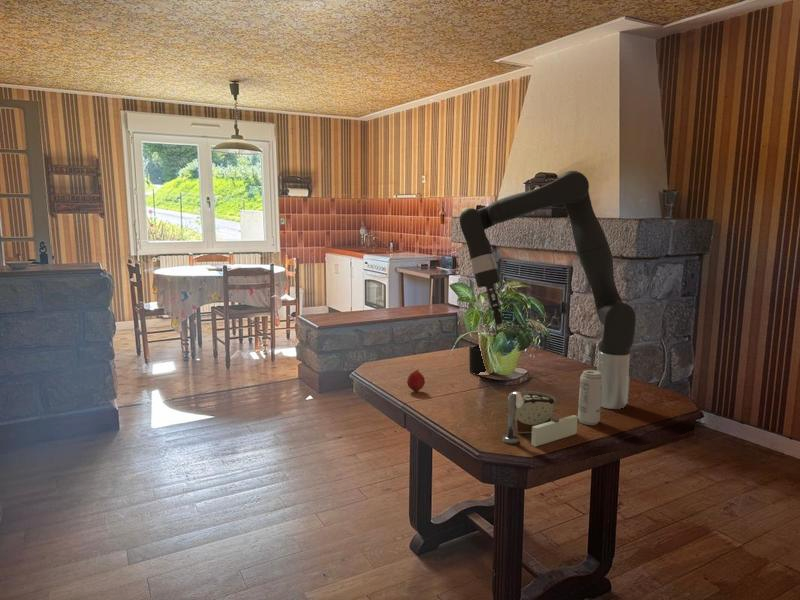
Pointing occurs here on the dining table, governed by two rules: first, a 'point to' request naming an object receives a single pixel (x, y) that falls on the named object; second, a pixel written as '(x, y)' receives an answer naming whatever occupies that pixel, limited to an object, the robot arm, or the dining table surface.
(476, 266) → the robot arm
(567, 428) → the rail
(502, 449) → the dining table surface
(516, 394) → the post
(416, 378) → the onion
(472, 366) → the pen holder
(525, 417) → the food container
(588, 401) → the energy drink can
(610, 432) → the dining table surface
